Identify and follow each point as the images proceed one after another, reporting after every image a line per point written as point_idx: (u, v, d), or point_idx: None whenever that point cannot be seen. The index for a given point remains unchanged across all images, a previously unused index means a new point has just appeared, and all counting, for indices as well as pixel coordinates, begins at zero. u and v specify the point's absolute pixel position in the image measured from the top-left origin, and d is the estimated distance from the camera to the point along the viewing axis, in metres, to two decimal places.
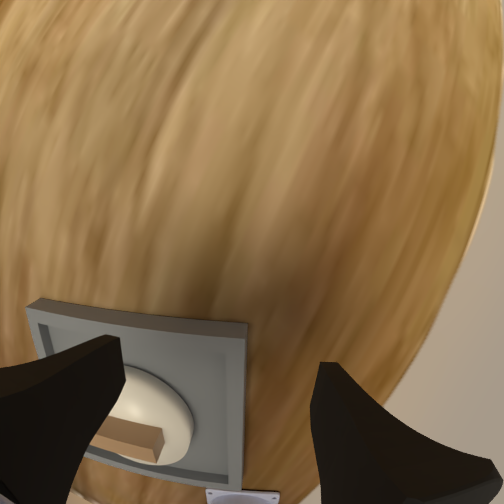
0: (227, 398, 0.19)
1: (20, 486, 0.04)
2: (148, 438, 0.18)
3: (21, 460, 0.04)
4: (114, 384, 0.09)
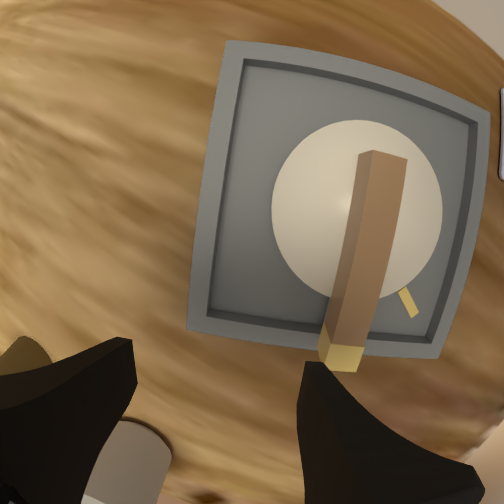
0: (310, 66, 0.15)
1: (35, 495, 0.04)
2: (364, 164, 0.13)
3: (36, 469, 0.04)
4: (126, 387, 0.09)
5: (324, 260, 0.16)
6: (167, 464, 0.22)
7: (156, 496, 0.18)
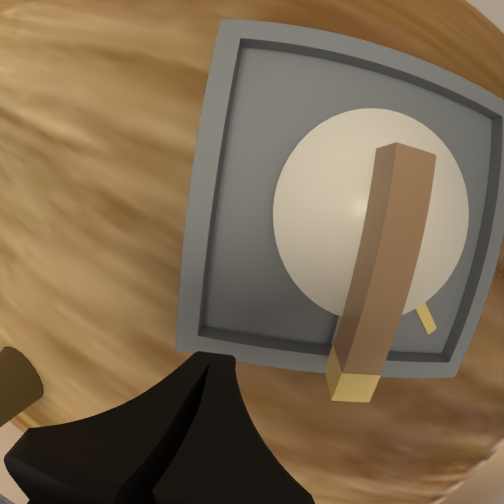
0: (318, 47, 0.12)
1: None
2: (385, 159, 0.11)
3: None
4: None
5: (335, 274, 0.13)
6: None
7: None
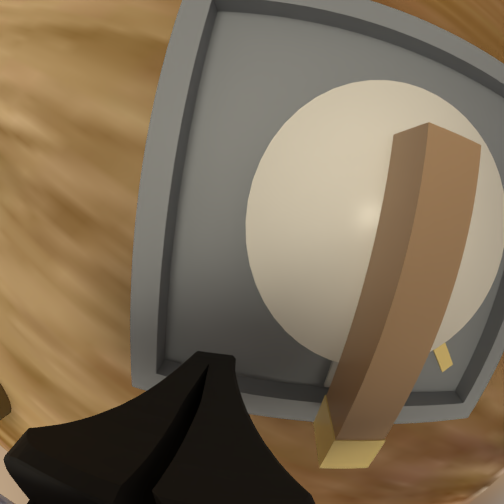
0: (313, 6, 0.08)
1: None
2: (409, 149, 0.07)
3: None
4: None
5: (332, 308, 0.10)
6: None
7: None
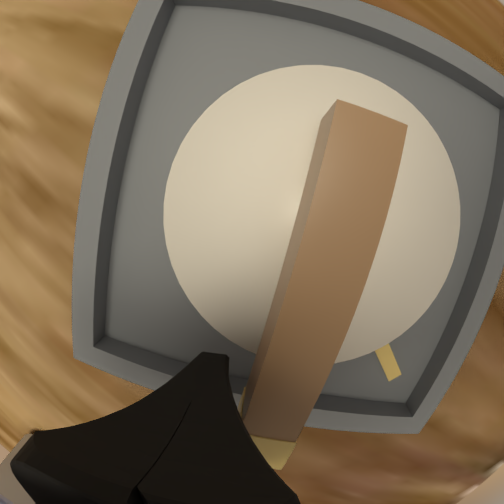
0: None
1: None
2: (324, 131, 0.07)
3: None
4: None
5: (247, 296, 0.10)
6: None
7: None
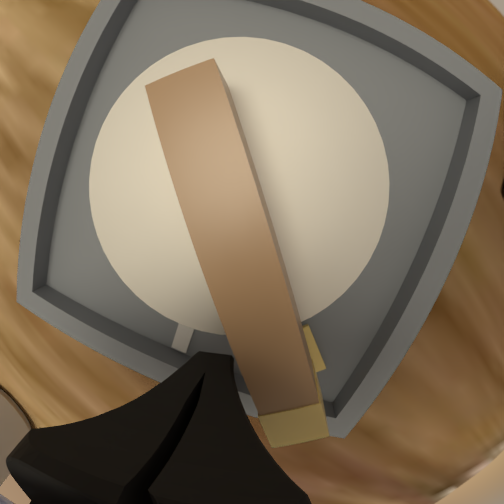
0: None
1: None
2: None
3: None
4: None
5: (207, 287, 0.10)
6: None
7: (2, 473, 0.12)
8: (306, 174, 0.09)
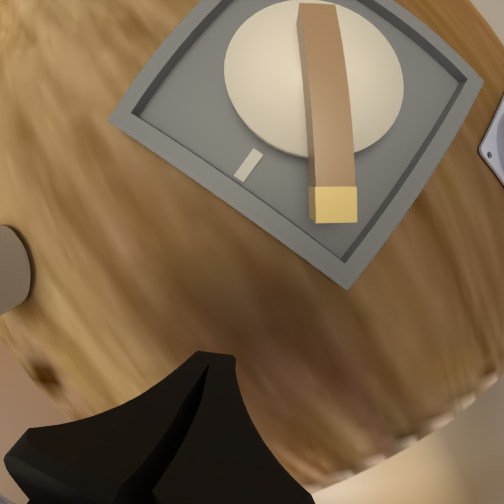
0: None
1: None
2: (299, 21, 0.12)
3: None
4: None
5: (290, 118, 0.14)
6: (19, 292, 0.19)
7: None
8: (360, 76, 0.14)
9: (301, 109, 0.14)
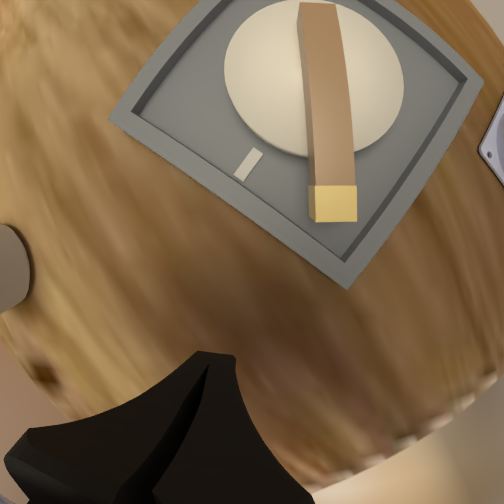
0: None
1: None
2: (299, 20, 0.12)
3: None
4: None
5: (289, 117, 0.14)
6: (18, 291, 0.19)
7: None
8: (360, 76, 0.14)
9: (301, 108, 0.14)
